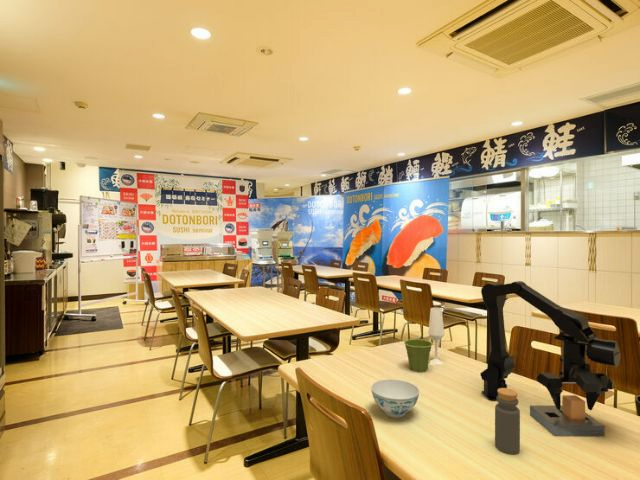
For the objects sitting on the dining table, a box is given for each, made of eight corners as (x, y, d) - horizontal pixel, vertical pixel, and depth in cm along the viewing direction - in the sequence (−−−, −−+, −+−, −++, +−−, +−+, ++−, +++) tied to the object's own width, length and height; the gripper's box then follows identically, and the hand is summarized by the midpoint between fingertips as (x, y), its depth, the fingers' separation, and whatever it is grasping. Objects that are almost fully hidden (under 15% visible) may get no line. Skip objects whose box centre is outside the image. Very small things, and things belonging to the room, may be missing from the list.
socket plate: (554, 435, 101) (554, 425, 101) (529, 414, 113) (529, 405, 113) (604, 436, 101) (604, 425, 101) (575, 415, 113) (575, 405, 113)
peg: (571, 428, 105) (571, 401, 105) (562, 421, 109) (562, 395, 109) (585, 428, 105) (585, 401, 105) (575, 421, 109) (575, 395, 109)
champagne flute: (444, 366, 156) (444, 310, 156) (427, 364, 158) (428, 309, 158) (444, 361, 162) (444, 307, 162) (428, 359, 165) (428, 307, 164)
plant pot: (410, 362, 161) (410, 337, 161) (436, 368, 154) (436, 341, 154) (399, 370, 151) (399, 343, 151) (427, 376, 144) (427, 348, 144)
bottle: (490, 442, 98) (490, 387, 98) (511, 441, 99) (511, 386, 98) (503, 455, 92) (503, 396, 92) (524, 454, 93) (525, 395, 93)
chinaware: (420, 405, 119) (420, 382, 119) (417, 428, 105) (417, 402, 105) (375, 399, 124) (375, 376, 124) (366, 420, 110) (366, 394, 110)
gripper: (559, 366, 99) (559, 423, 99) (629, 367, 98) (628, 423, 99) (536, 353, 110) (536, 404, 110) (598, 353, 110) (598, 405, 110)
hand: (574, 409), depth 107 cm, fingers open, 9 cm apart
